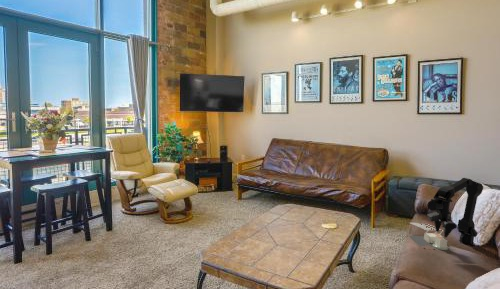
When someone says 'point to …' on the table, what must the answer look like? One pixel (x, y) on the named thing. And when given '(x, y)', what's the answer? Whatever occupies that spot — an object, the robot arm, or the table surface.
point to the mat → (422, 241)
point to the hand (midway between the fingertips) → (441, 234)
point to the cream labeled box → (430, 237)
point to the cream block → (440, 242)
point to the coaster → (440, 248)
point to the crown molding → (425, 227)
